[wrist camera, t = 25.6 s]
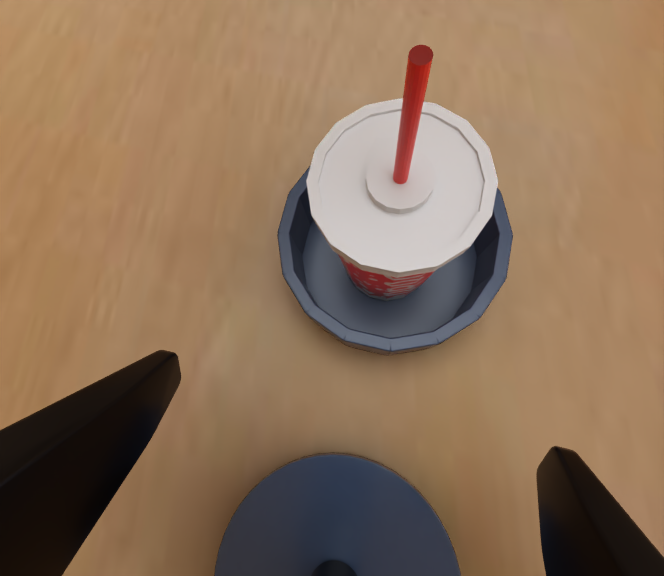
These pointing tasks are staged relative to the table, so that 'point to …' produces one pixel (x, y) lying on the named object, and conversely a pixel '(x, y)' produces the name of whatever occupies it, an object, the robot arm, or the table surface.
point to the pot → (399, 314)
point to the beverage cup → (401, 188)
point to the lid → (335, 524)
